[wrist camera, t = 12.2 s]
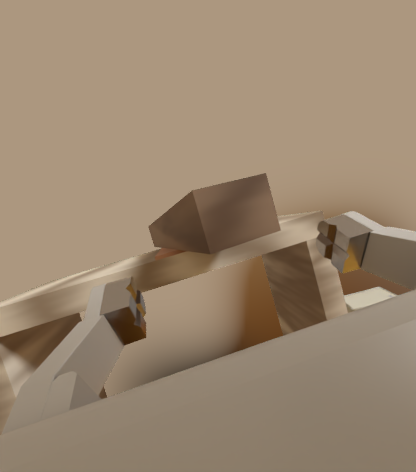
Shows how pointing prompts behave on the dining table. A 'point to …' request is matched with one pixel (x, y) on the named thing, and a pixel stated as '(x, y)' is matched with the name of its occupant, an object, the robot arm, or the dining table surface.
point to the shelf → (163, 273)
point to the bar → (218, 217)
